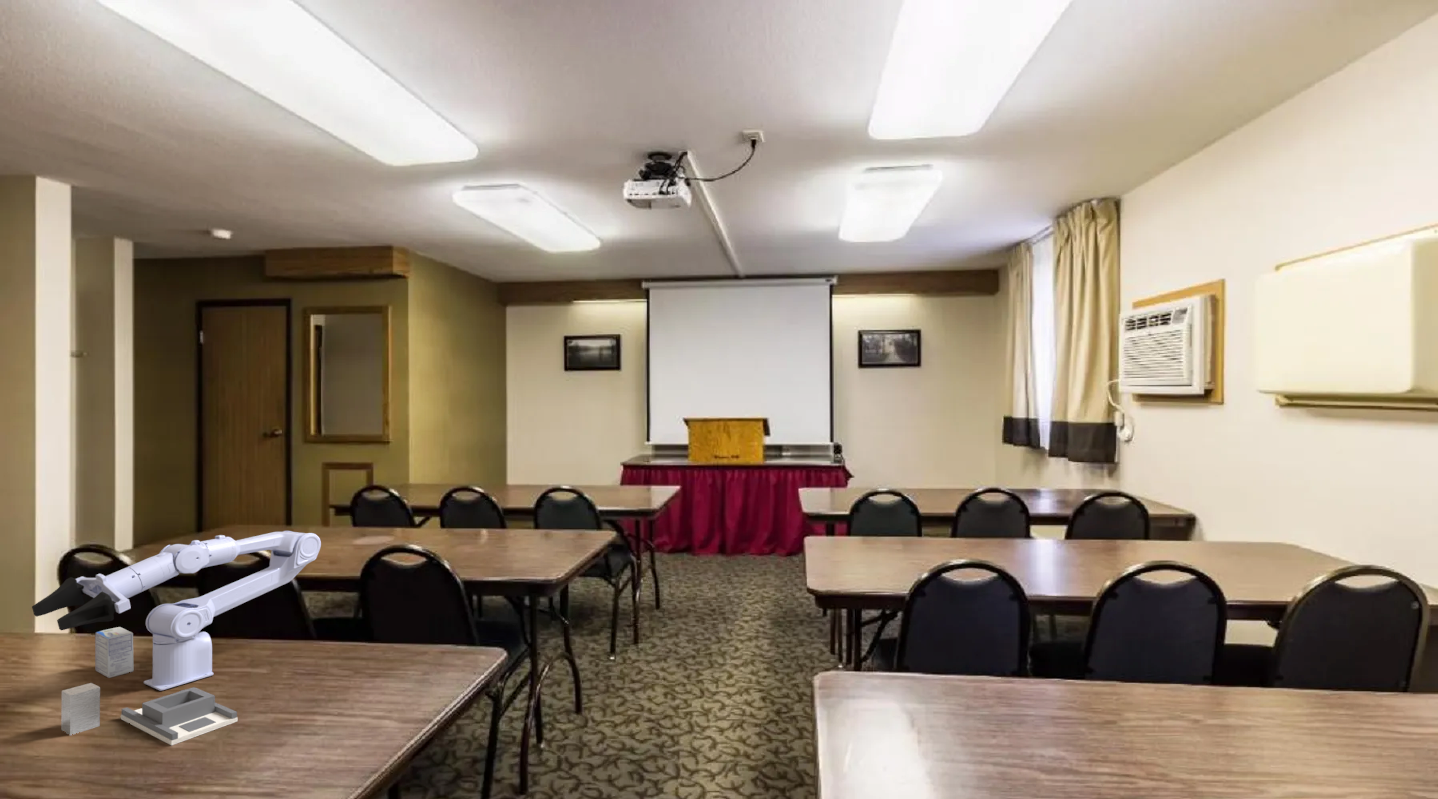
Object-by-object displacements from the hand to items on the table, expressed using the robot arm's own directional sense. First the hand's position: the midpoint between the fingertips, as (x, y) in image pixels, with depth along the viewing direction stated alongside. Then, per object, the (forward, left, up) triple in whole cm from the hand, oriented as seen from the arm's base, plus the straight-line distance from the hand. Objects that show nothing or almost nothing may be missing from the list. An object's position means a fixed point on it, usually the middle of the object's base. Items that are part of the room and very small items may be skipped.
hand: (46, 618), depth 122 cm
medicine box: (-17, -20, -19) cm, 33 cm away
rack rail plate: (-13, +20, -19) cm, 30 cm away
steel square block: (-3, +8, -19) cm, 21 cm away
